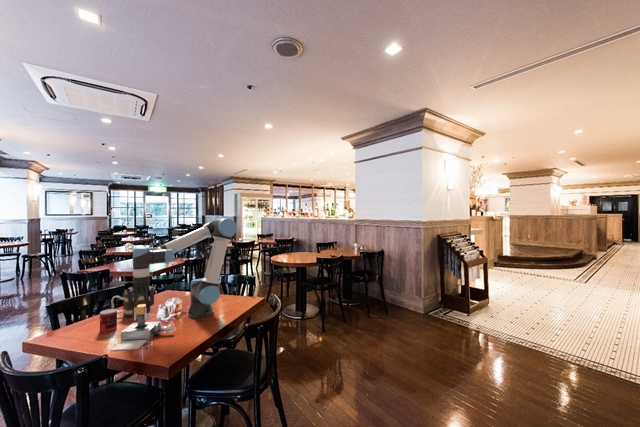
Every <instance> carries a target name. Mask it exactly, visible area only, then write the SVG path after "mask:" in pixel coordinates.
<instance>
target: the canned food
mask: <svg viewBox="0 0 640 427" xmlns="http://www.w3.org/2000/svg"><path fill="white" fill-rule="evenodd" d="M117 312H118V309H117V308H114V309H112V308H107V309H105V310H104V309H103V310H102V311H100V312H99V333H101V334H107V333H112V332H115V331H116V330H117V329H118V314H117Z"/></svg>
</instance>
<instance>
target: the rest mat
mask: <svg viewBox="0 0 640 427" xmlns="http://www.w3.org/2000/svg"><path fill="white" fill-rule="evenodd" d="M147 341H148V340H137V341H122V342H121V341H120V342H119V343H118V344H116V345H115V346H114V347H113V348H111V349H110V352H115V351H117V350H118V351H128V350H129V351H131V350H134V351H135V350H139V349H140V348H141V347H142V346H143V345H144V344H146V342H147ZM118 351H117V352H118Z"/></svg>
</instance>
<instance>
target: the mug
mask: <svg viewBox="0 0 640 427" xmlns="http://www.w3.org/2000/svg"><path fill="white" fill-rule="evenodd" d="M122 294H123V295H122V296H123V297H122V296H120V295H115V296H113V297H112V298H111V300H110V302H111V309H115V304H114V299H116V298H118V299H119V300H123V302H122V303H123V304H122V306H123V307H122V308H123V310H120V311H117V315H119V314H122V313H123V314H122V316H123V318H125V319H134V314H133V313H132V307H128V292H127V290H126V291H125V292H122ZM134 297H135V291H134V290H133V301H134ZM140 304H145V300H144V296H143V295H142V294H141V293H140V294H139V298H138V303H137V306H138V305H140Z"/></svg>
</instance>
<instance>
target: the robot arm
mask: <svg viewBox="0 0 640 427" xmlns="http://www.w3.org/2000/svg"><path fill="white" fill-rule="evenodd" d="M237 229H238V226H237V224H236V221H235V220H234V219H232V218H230V217H229V218H228V217H218V218H215V219H213V220H211V221H209V222H207V223H205V224H203V225H202V227H200V228H198V229H196V230H193V231H191V232H189V233H186V234H183V235H182V236H179V237H177V238H174V239H173V240H171V241H168V242H165V243H164V244H162V245H159V246H156V247H152V248H151V249H150V247H148V246H143V247H142V246H141V247H140V246H139V247H135V248H134V249H133V251H132V276H133V277H132V286H131V287H128V288H127V289H126V291H127V292H128V307H132V313H133V314H134V318H133V320H134V321H138V315H135V307H136V306H137V303H138V298H139V294H140V293H141V294H142V295H143V296H144V300H145V304H146V307H145V321H146V320H148V319H149V313H150V312H151V307H152V306H153V305H155V290H156V286H151V285H150V265H153V264H155V265H157V264H164V263H166V264H167V263H172V262H174V260H175V253H177V252H179V251H181V250H184V249H185V248H189V247H190V246H192V245H194V244H196V243H199V242H200V241H202V240H203V241H204V240H205V239H207V238H208V239H209V238H210V239H211V238H213V239H214V240H213V244H212V247H211V250H210V255H209V259H208V263H207V266H206V270H205V275H204V277H202V278H197V279H196V278H195V279H192V280H191V281H190V305H189V308H188V310H187V317H189V318H192V319H201V318H204V317H205V318H206V317H208V316H210V315H212V314H213V312H214V311H213V310H214V309H213V306H212V305H213V304H215V303H216V302H217V301H218V300H219V298H220V296H221V290H220V287H221V286H220V284H221V281H220V275H221V271H222V267H223V264H224V260H225V256H226V252H227V249H228V245H229V243H230V242H231V241H232V238H233V236H234V235H235V234H236V232H237ZM133 290H134V291H135V297H134V301H133Z"/></svg>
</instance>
